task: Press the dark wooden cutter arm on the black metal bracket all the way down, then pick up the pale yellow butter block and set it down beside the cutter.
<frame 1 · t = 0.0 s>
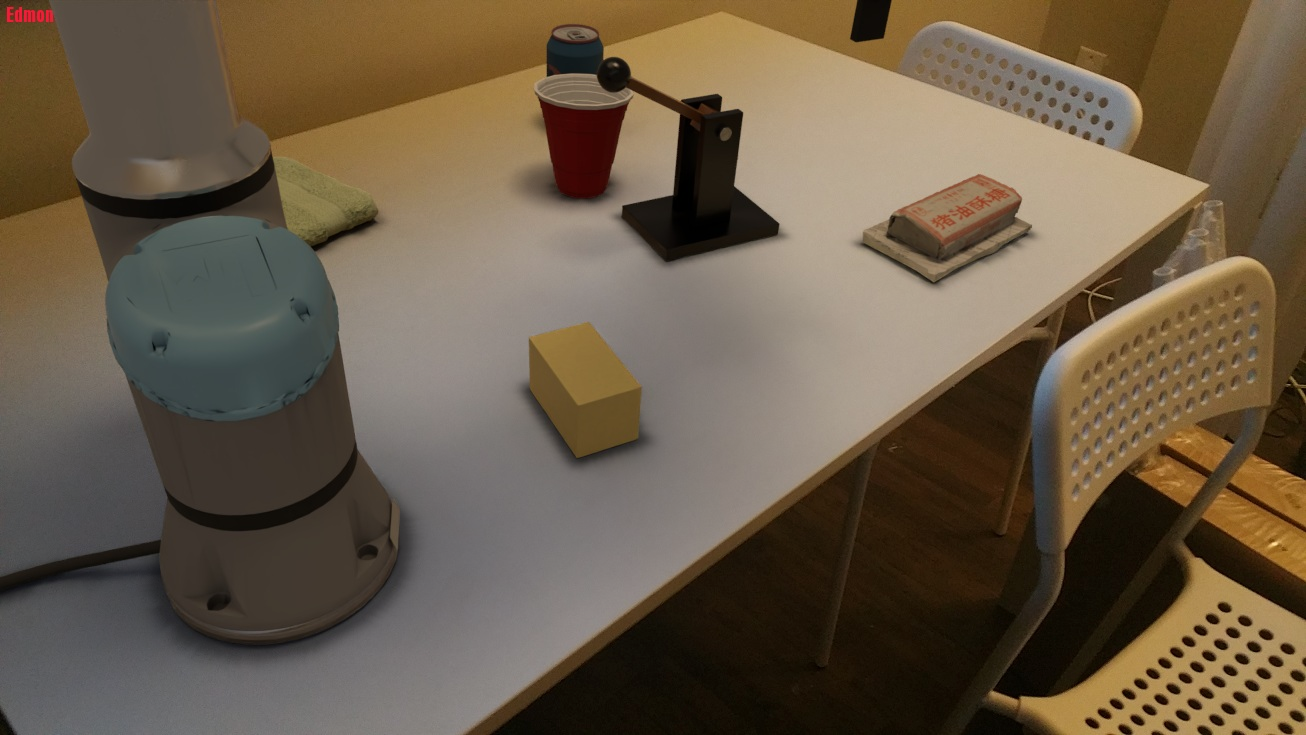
hand: (814, 10, 80), 28 cm above the table, tool pointing down, fingers open, 13 cm apart
cutter arm: (663, 99, 96), point 15 cm above the table, hinge at 30.0°
butter: (582, 413, 82), on the table
packaged product: (945, 240, 109), on the table
washcloth: (282, 215, 104), on the table
plastic cup: (581, 187, 113), on the table
cutter: (699, 225, 107), on the table
soda can: (574, 127, 126), on the table
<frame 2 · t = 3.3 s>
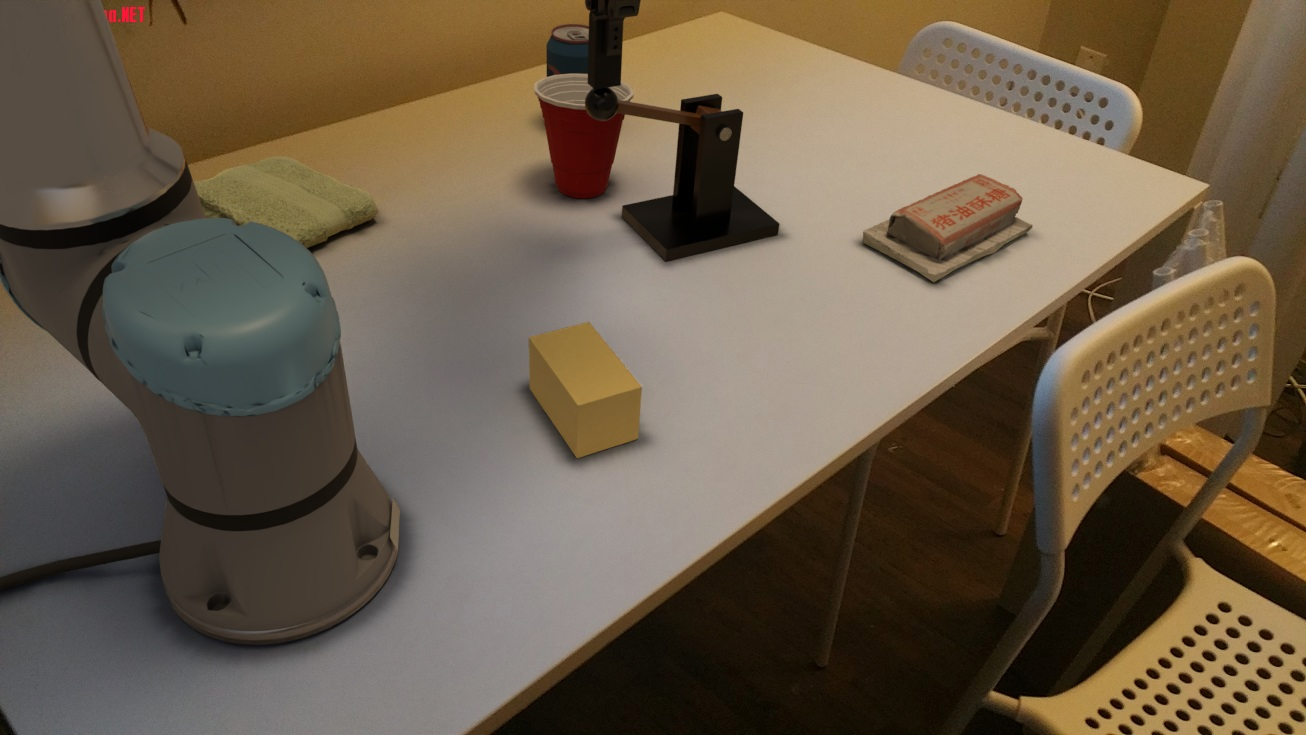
hand: (604, 84, 92), 18 cm above the table, tool pointing down, fingers closed
cutter arm: (657, 113, 96), point 14 cm above the table, hinge at 17.2°, touching gripper
everything else where it was.
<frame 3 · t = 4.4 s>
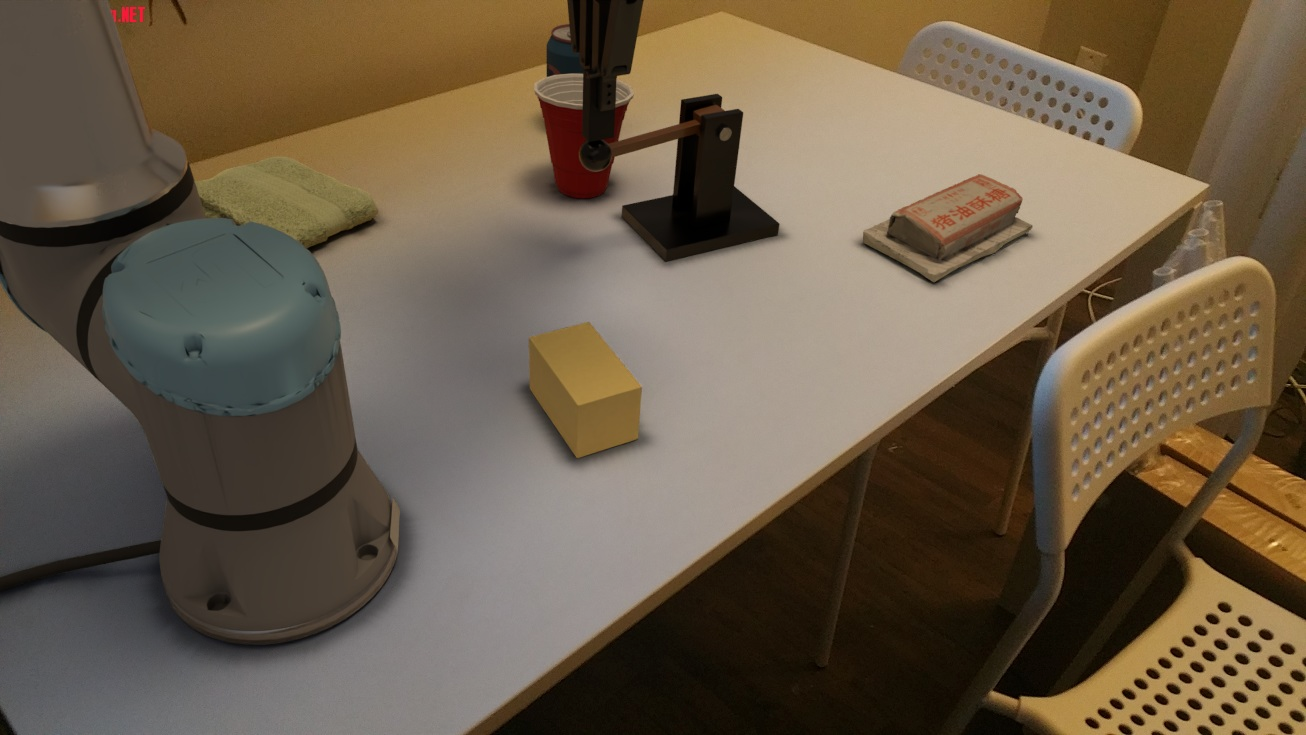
hand: (598, 136, 94), 13 cm above the table, tool pointing down, fingers closed
cutter arm: (653, 138, 98), point 11 cm above the table, hinge at -5.7°, touching gripper
everything else where it was.
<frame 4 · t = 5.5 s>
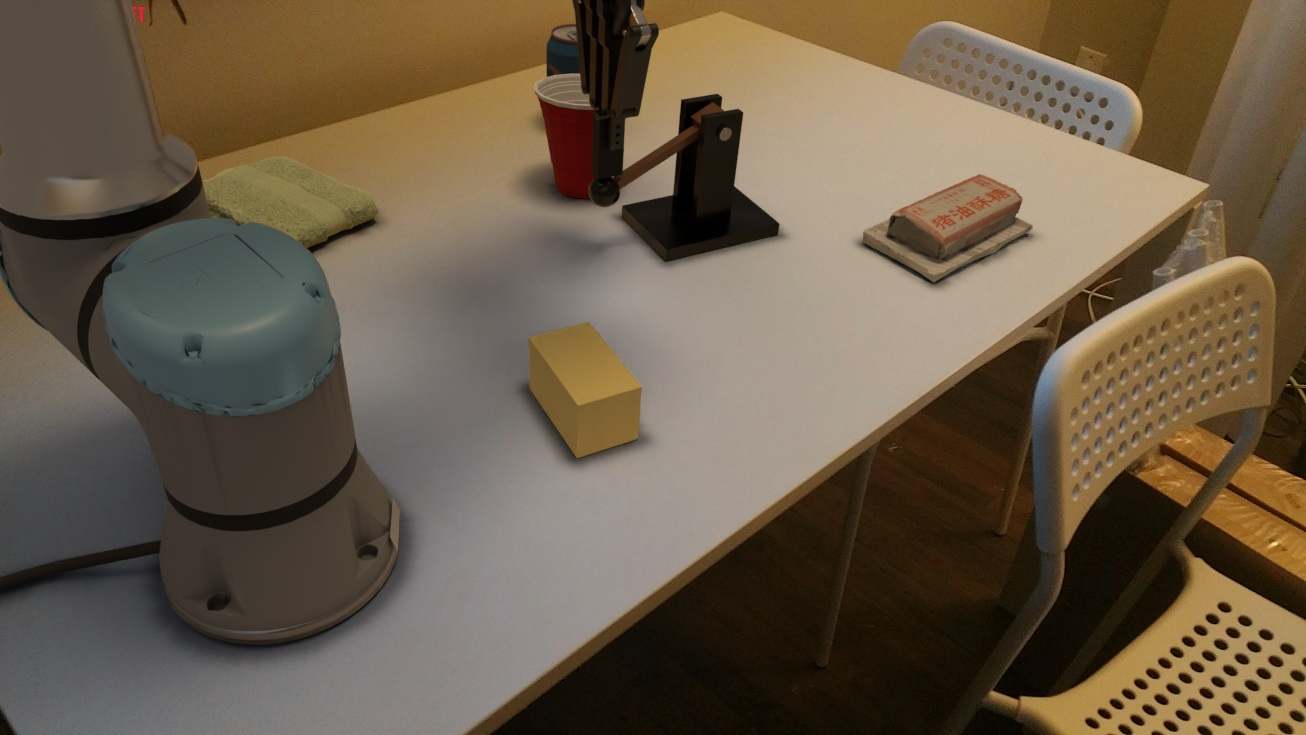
hand: (607, 173, 98), 8 cm above the table, tool pointing down, fingers closed
cutter arm: (656, 157, 99), point 9 cm above the table, hinge at -24.9°, touching gripper
everything else where it was.
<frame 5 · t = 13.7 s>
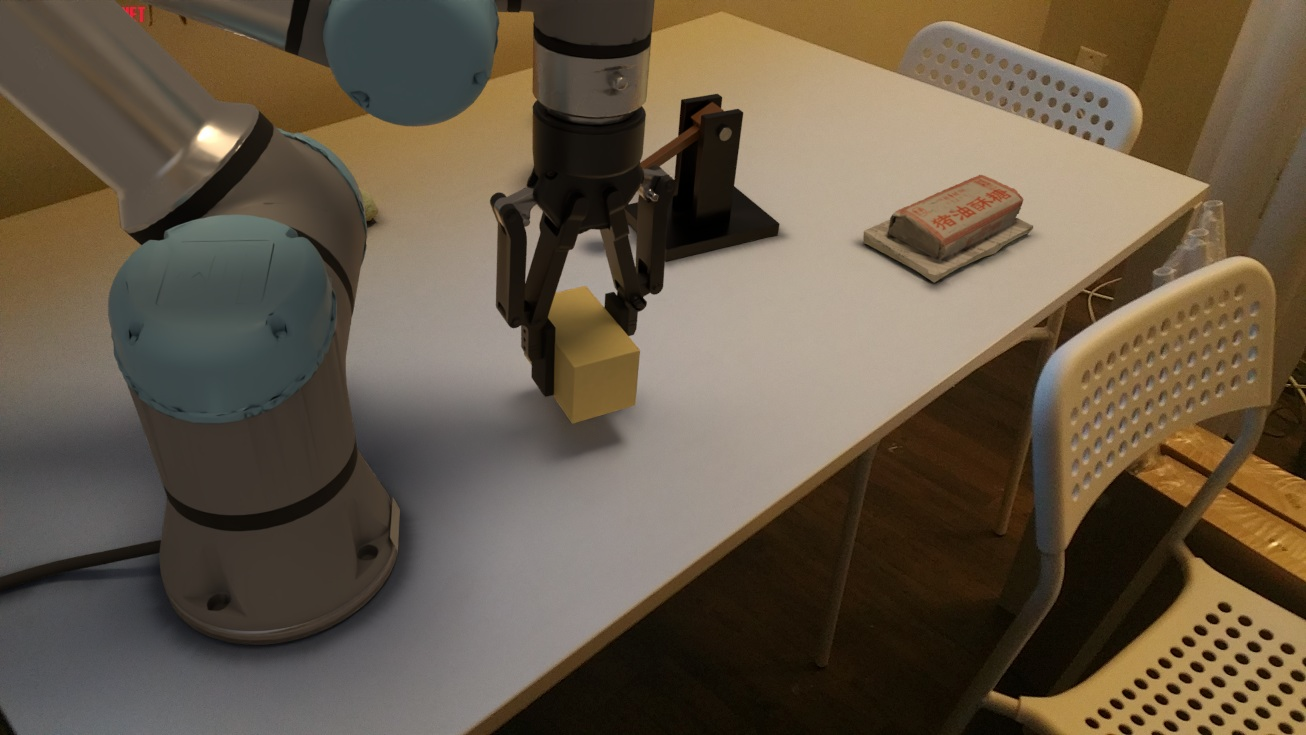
hand: (578, 376, 79), 4 cm above the table, tool pointing down, fingers closed on butter, 5 cm apart
cutter arm: (657, 159, 99), point 9 cm above the table, hinge at -27.1°
butter: (578, 379, 79), point 4 cm above the table, touching gripper
everything else where it was.
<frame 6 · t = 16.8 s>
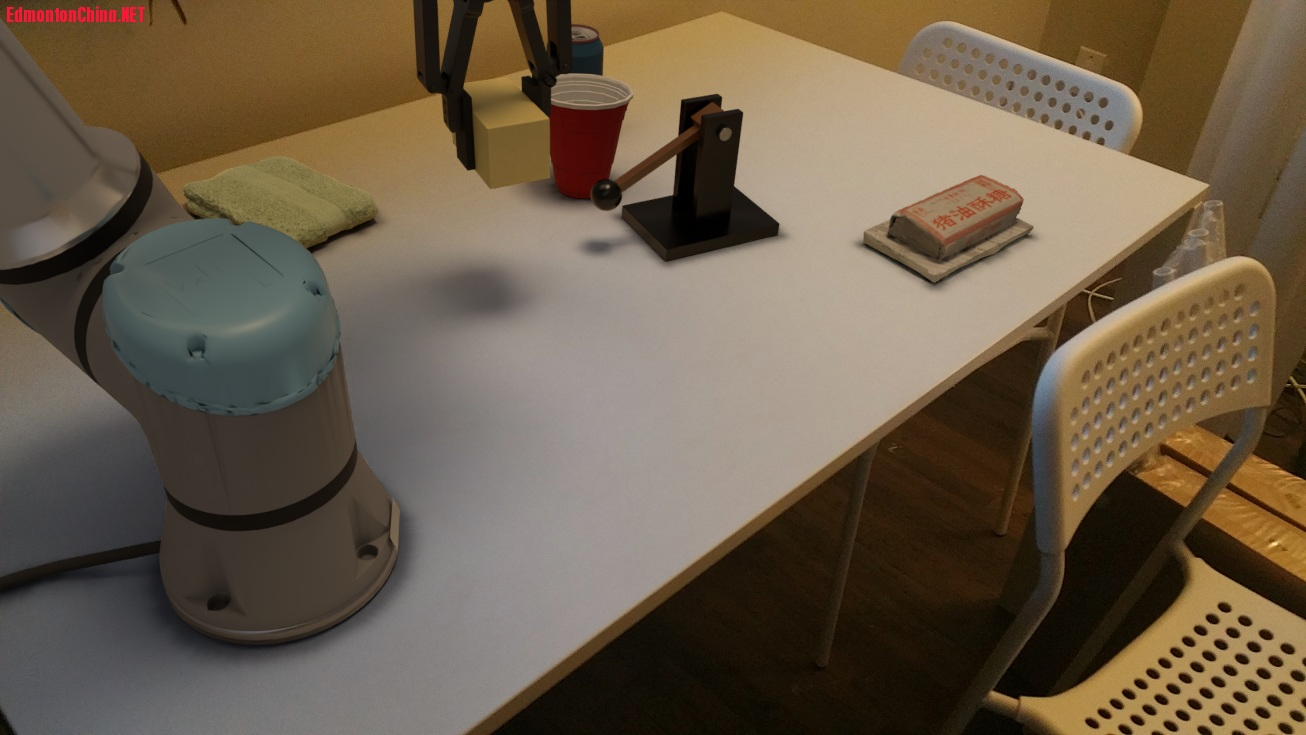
hand: (499, 156, 87), 14 cm above the table, tool pointing down, fingers closed on butter, 5 cm apart
butter: (500, 160, 87), point 14 cm above the table, touching gripper
everything else where it was.
when the fingers open (0 cm above the table, at t = 20.0 s): butter stays where it is, on the table.
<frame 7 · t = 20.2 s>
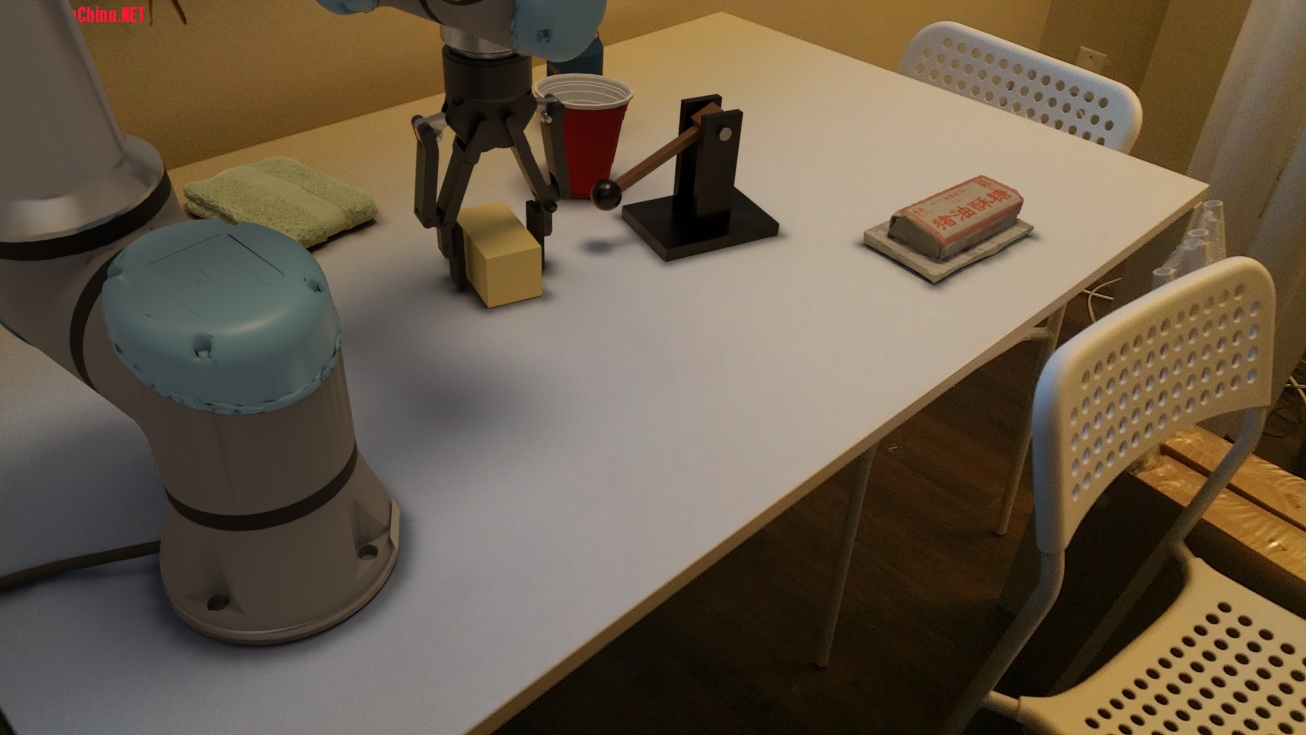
hand: (498, 272, 97), 0 cm above the table, tool pointing down, fingers open, 7 cm apart
butter: (497, 276, 97), on the table
everything else where it was.
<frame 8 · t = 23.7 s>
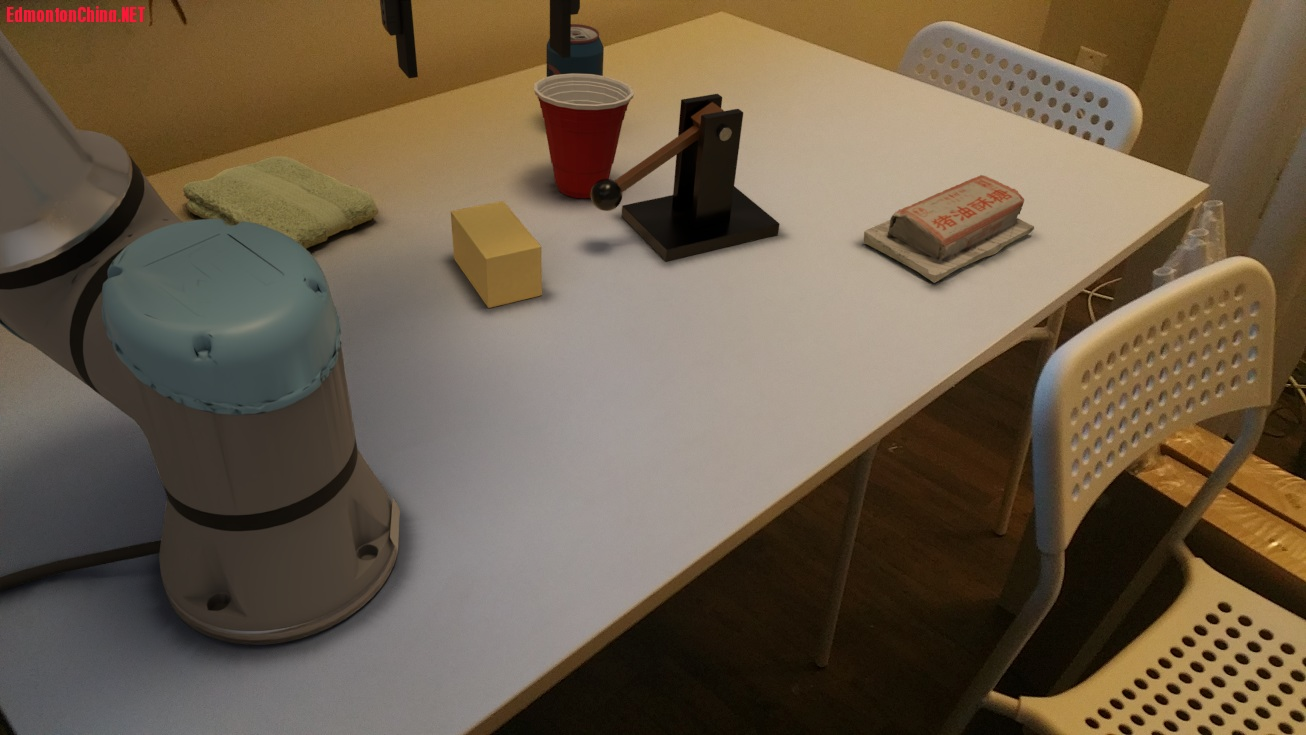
hand: (486, 62, 84), 22 cm above the table, tool pointing down, fingers open, 13 cm apart
nothing on the table moved.
at the end: cutter arm at -27° (first picture: +30°); butter inside the target area (0.1 cm from its centre), on the table; butter tilted 0° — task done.
